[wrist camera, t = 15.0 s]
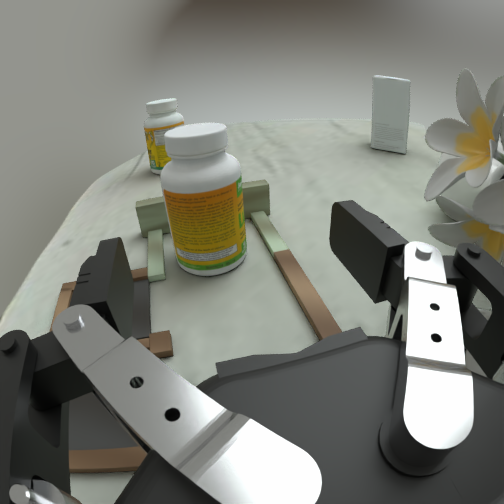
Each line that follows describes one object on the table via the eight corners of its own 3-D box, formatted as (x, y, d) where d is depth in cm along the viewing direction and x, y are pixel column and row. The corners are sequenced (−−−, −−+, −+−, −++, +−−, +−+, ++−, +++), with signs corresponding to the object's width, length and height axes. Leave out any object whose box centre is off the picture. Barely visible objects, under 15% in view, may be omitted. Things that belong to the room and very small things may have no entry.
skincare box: (406, 148, 48) (411, 80, 41) (406, 155, 44) (412, 81, 38) (371, 142, 50) (375, 74, 43) (368, 148, 47) (372, 75, 40)
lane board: (429, 465, 10) (459, 440, 8) (38, 540, 7) (-3, 526, 5) (266, 209, 30) (265, 179, 29) (79, 244, 27) (70, 216, 25)
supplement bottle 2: (258, 266, 23) (250, 130, 17) (184, 286, 22) (156, 146, 16) (234, 231, 27) (224, 116, 22) (172, 246, 26) (150, 129, 20)
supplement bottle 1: (189, 172, 40) (180, 100, 35) (149, 178, 40) (137, 107, 34) (189, 159, 45) (182, 95, 39) (153, 165, 44) (144, 101, 39)
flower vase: (420, 259, 34) (396, 410, 13) (418, 98, 29) (399, -5, 8) (518, 267, 27) (594, 415, 7) (522, 106, 22) (640, 47, 2)
